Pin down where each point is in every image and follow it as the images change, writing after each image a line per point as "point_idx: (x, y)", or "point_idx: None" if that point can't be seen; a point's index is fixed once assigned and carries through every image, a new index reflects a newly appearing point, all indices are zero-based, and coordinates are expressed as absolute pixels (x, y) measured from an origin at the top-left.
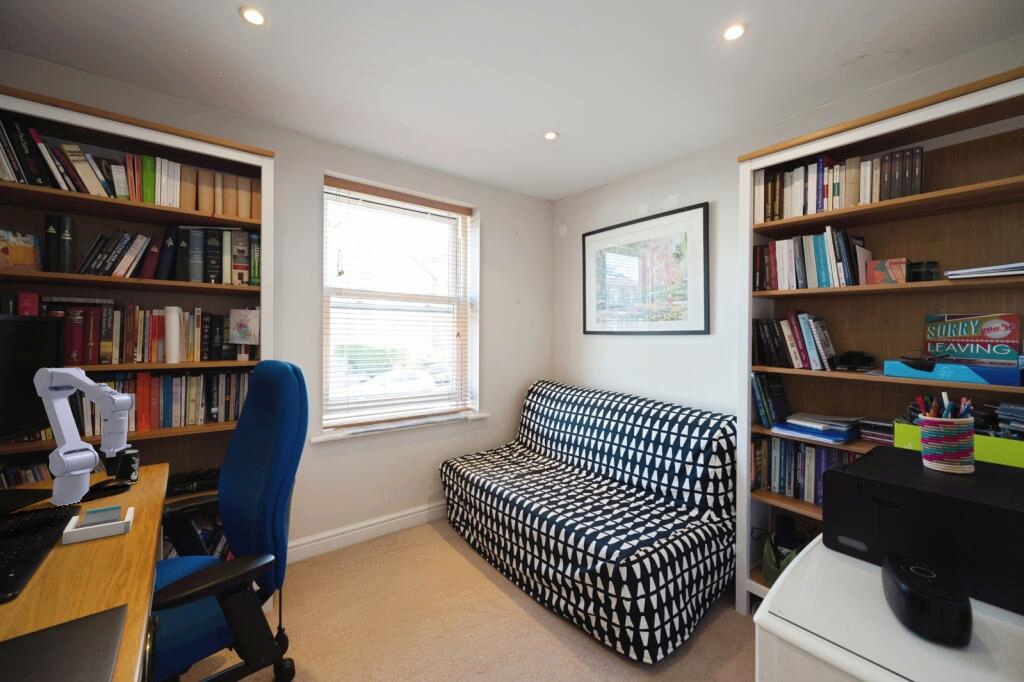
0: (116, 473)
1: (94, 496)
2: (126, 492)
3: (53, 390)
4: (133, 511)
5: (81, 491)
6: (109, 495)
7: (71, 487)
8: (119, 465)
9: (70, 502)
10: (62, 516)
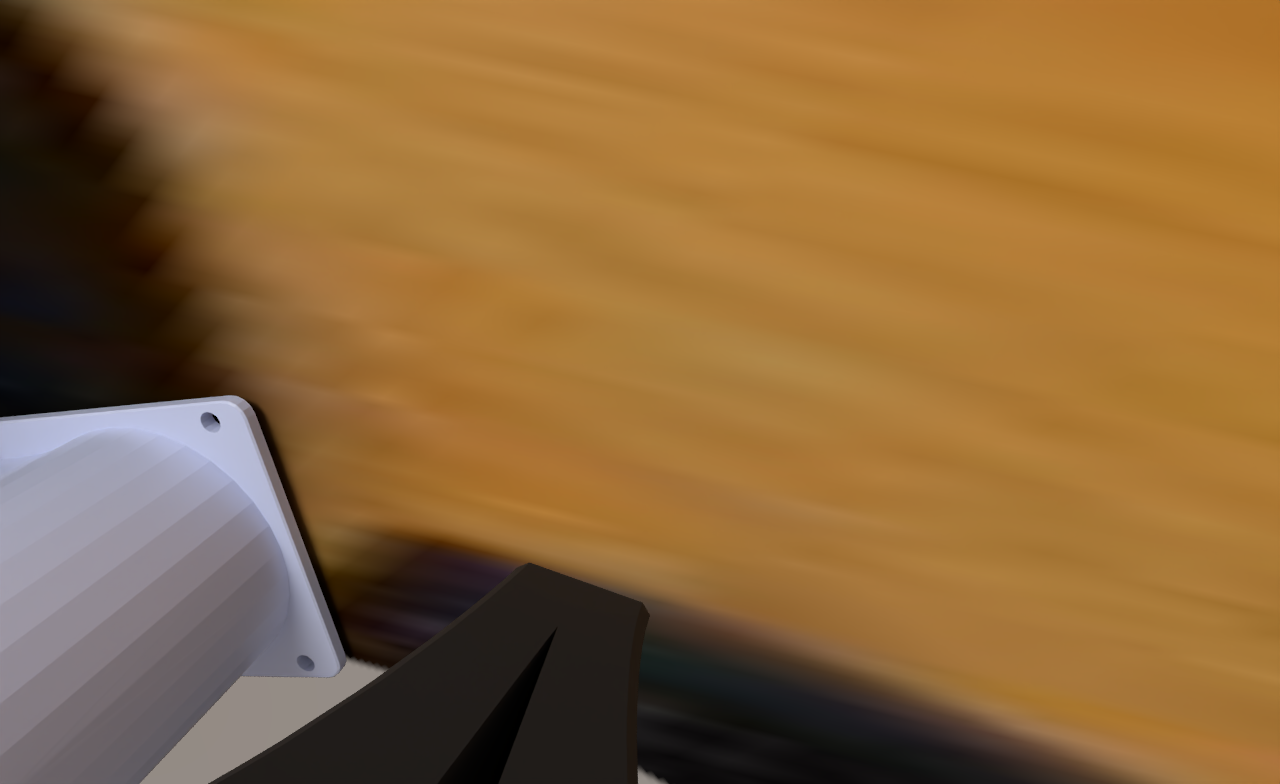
0: (639, 650)
1: (91, 350)
2: (101, 18)
3: None
4: None
5: (182, 588)
6: (140, 222)
7: (152, 736)
8: (450, 769)
9: (288, 599)
10: (731, 738)
